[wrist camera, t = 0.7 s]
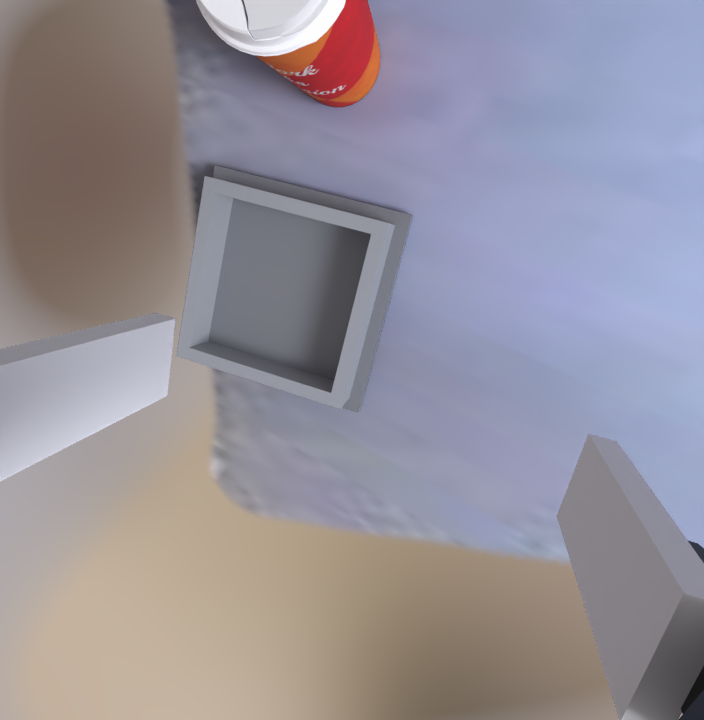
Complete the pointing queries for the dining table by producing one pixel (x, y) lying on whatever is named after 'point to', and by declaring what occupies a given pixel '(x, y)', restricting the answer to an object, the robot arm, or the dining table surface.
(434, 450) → the dining table surface
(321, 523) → the dining table surface
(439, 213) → the dining table surface
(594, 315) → the dining table surface
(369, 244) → the tray
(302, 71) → the coffee cup
